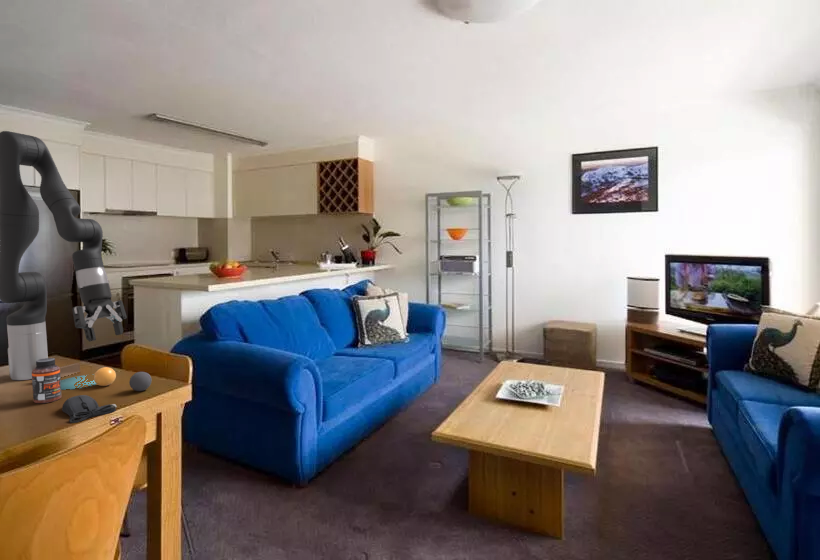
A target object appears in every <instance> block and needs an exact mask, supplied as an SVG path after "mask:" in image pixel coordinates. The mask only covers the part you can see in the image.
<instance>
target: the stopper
mask: <svg viewBox="0 0 820 560" xmlns="http://www.w3.org/2000/svg"><path fill="white" fill-rule="evenodd" d="M59 368H60V379H61V377H62V378H64V376H66V377H69V376H72V375H71V374H73V375H75V374H74V373H76V374H78V373H77V372H80V373H81V363H78V362H75V363H72V364H68V365H67V364H66V365H64V366H59ZM68 375H69V376H68Z"/></svg>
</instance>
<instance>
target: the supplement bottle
mask: <svg viewBox="0 0 820 560" xmlns="http://www.w3.org/2000/svg"><path fill="white" fill-rule="evenodd" d="M59 367H60V366H59V365H56V358H54V357H48V358H44V359H39V360H37V361H36V368H35V369H33V370H32V379H31V384H32V399H33V402H34V403H35V404H47V403H53V402H57V401H58V400H59V399H61V398H62V390H61V378H60V368H59Z"/></svg>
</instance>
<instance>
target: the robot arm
mask: <svg viewBox="0 0 820 560" xmlns="http://www.w3.org/2000/svg"><path fill="white" fill-rule="evenodd" d="M20 166H24V167H25V166H26V167H32V168H34V169H35V170H36V171H37V172H38V174H39V176H40V180H41V181H40V186H39V194H40V197H41V199H42V201H43V202H44V204H45V205H46V207H47V209H48V210H49V211H50V212H51V214H52V217H53V219H54V222H55V223H54V224H55V227H56V230H57V231H56V232H57V233H58V235H59V236H60V238H61V239H63V240H64V241H66V242H69V243H82V244H83V247H82V249H79V250H78V249H77V251H76V250H75V251H74V252H73V253H72V255H71V256H72V262H73V267H74V271H75V280H76V284H77V288H78V292H79V296H80V300H81V302H82V304H83V306H82V305H79V306H78V305H77V306H74V307H72V309H71V310H72V316H73V321H74V327H75V328H76V329H83V331H84V335H85V339H86V340H87V341H88V342H93V341H96V333H95V330H94V327H93V325H94V324H95V322H96V321H97V319H105V318H106V319H108V320H110V321H111V323H113V324H112V326H113V330H114V334H115V336H120V335H123V333H124V327H123V323H122V322H123V320H126V319H127V318H128V316H127V313H126V310H125V306H124V303H123V300H121V299H120V300H116V301H113V300H112V297H113V295H112V290H111V287H110V282H109V279H108V278H109V277H108V274H107V272H106V269H105V265H104V260H103V258H102V250H103V249H102V248H103V247H102V246H103V237H104V236H103V235H104V234H103V233H104V232H103V229H102V226H101V225H100V223H99V222H98V221H97V220H96V219H92V218H78V217H77V216H78V215H80V213H81V206H80V205H79V203H78V201H77V200H76V199H75V197H74V196H73V195H72V193H71V192H70V191H69V189H68V188H67V185H66V184H65V182H64V181H63V178H62V176H61V175H60V172H59V170H58V167H57V165H56V163H55V161H54V159H53V157H52V154H51V153H50V150H49V148H48V146H47V145H46V143H45V142H44V141H43V140H42V139H41V138H39V137H37V136H34V135H30V134H26V133H19V132H14V131H11V130H10V131H9V130H3V131H0V301H1V302H2V303H6V304H16V303H24V304H23V306H22V307H21V308H20V309H18V310H16V311H14V312H12V313H10V314H8V315H7V316H6V329H7V339H8V341H7V342H8V348H7V355H8V369H9V371H8V372H9V378H10V379H11V380H12V381H26V380H32V370H33V369H35V368H36V361H37V360H39V359H44V358H49V356H48V355H49V354H48V353H49V352H48V340H47V339H48V336H47V325H46V324H47V323H46V315H47V310H48V307H47V304H48V302H47V300H48V299H47V297H48V295H47V288H48V287H47V282H46V279H45V277H44V276H43V274H42V273H40V272H37V271H26V272H19V271H20V265H21V259H22V257H23V255H24V253H25V252H26V251H27V250H28V248H29V247H30V246H31V245H32V243H33V242H34V240H35V239H36V237H38V234H39V231H40V211H39V207H38V205H37V203H36V202H35V200H34V199H33V197H32V196H31V194H30V193H29V192H28V190H27V188H26V187H25V185H24V183H23V181H22V177H21V169H20V168H21V167H20ZM85 313H86V315H85Z"/></svg>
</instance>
